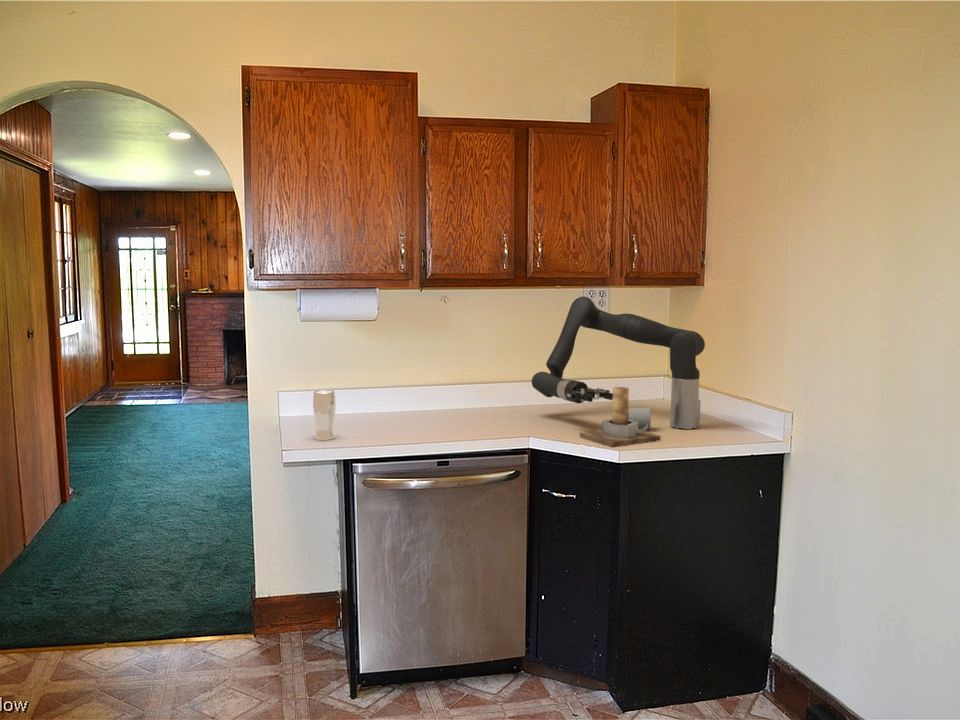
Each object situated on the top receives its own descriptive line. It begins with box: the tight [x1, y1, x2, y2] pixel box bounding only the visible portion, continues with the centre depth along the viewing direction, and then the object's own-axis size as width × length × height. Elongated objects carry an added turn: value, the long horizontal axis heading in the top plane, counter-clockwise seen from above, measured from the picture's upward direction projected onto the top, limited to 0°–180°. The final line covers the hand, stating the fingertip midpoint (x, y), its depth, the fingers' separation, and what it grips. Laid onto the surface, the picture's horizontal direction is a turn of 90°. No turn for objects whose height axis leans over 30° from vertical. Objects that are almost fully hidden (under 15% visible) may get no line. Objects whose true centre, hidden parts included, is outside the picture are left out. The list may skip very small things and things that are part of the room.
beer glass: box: [312, 389, 336, 441], centre depth 252 cm, size 7×7×15 cm
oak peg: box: [611, 386, 630, 424], centre depth 254 cm, size 5×5×15 cm
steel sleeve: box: [601, 418, 639, 438], centre depth 254 cm, size 11×11×4 cm
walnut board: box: [579, 429, 661, 448], centre depth 255 cm, size 20×16×2 cm
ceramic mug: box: [628, 406, 652, 432], centre depth 268 cm, size 11×8×8 cm
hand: (602, 397), depth 261 cm, fingers open, 8 cm apart
